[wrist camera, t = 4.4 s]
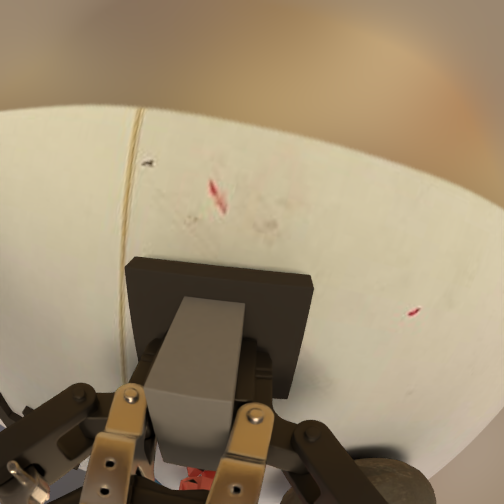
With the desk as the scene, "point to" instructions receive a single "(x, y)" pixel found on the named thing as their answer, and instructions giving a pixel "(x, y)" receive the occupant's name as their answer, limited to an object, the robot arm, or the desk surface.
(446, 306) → the desk surface
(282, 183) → the desk surface
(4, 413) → the notch pad
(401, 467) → the bowl
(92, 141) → the desk surface
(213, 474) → the cat figurine
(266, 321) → the tab pad
